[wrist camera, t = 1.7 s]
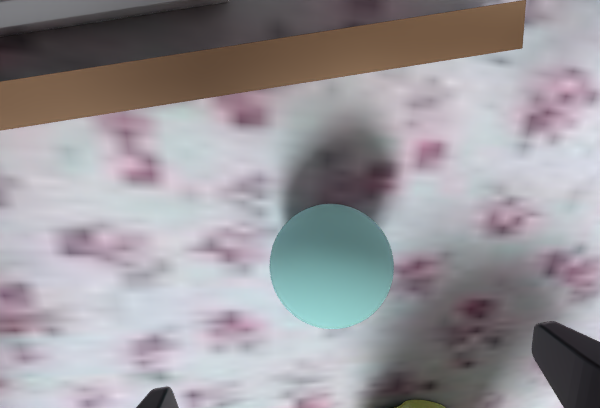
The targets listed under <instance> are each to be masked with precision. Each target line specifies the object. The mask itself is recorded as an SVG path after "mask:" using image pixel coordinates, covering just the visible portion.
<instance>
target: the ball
mask: <svg viewBox="0 0 600 408" xmlns="http://www.w3.org/2000/svg"><path fill="white" fill-rule="evenodd" d="M393 270H394V262H393V255H392V251H391V248H390V245H389V242H388V240H387V238H386V236H385V234H384V233H383V231H382V230H381V229H380V227H379V226H378V225H377V224H376V223H375V222H374V221H373V220H372V219H371V218H370V217H368V216H367V215H366V214H364V213H362V212H361V211H359V210H357V209H354V208H352V207H348V206H345V205H339V204H321V205H317V206H313V207H310V208H307V209H305V210H303V211H301V212H299V213H298V214H296V215H295V216H294V217H292V218H291V219H290V220H289V221H288V222H287V223H286V224H285V225H284V226H283V228H282V229H281V231H280V232H279V233H278V235H277V237H276V239H275V242H274V244H273V247H272V251H271V256H270V274H271V280H272V284H273V287H274V290H275V292H276V294H277V296H278V298H279V299H280V301H281V302H282V304H283V305H284V306H285V307H286V309H287V310H288V311H289V312H291V313H292V314H293V315H294V316H295V317H297V318H298V319H300V320H301V321H303V322H305V323H307V324H310V325H312V326H315V327H319V328H325V329H339V328H346V327H350V326H353V325H355V324H358V323H360V322H362V321H363V320H365V319H367V318H368V317H370V316H371V315H372V314H373V313H374V312H375V311H376V310H377V309H378V308H379V307H380V306H381V304H382V303H383V301H384V300H385V298H386V296H387V294H388V292H389V290H390V286H391V283H392V279H393Z"/></svg>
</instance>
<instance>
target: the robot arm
mask: <svg viewBox="0 0 600 408" xmlns="http://www.w3.org/2000/svg"><path fill="white" fill-rule="evenodd" d="M532 354H533V357H534V359H535V361H536V362H537V364H538V366H539V367H540V369H541V371H542V372H543V374H544V376H545V377H546V379H547V381H548V382H549V384H550V386H551V387H552V389H553V390H554V392H555V394H556V395H557V397H558V399H559V400H560V402H561V404H562V405H563V407H564V408H600V342H599V341H597V340H594V339H592V338H590V337H588V336H586V335H583V334H581V333H579V332H577V331H575V330H572V329H570V328H568V327H566V326H564V325H561V324H559V323H557V322H554V321H549V322H543V323H538V324H536V325H535V327H534V334H533V342H532ZM136 408H179V407H178V405H177V402H176V399H175V397H174V394H173V391H172V389H171V388H170V387H161V388H155V389H153V390H151V391H150V392H149V393H148V394H147V396H146V397H145V398H144V399H143V400H142V401H141V403H140V404H139V405H138V406H137V407H136Z"/></svg>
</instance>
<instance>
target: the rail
mask: <svg viewBox="0 0 600 408" xmlns="http://www.w3.org/2000/svg"><path fill="white" fill-rule="evenodd" d="M525 7H526V0H522V1H516V2H509V3H503V4H496V5H490V6H483V7H477V8H471V9H464V10H458V11H451V12H445V13H438V14H432V15H426V16H419V17H413V18H406V19H400V20H393V21H387V22H381V23H374V24H368V25H361V26H355V27H348V28H342V29H336V30H329V31H323V32H316V33H310V34H304V35H297V36H291V37H284V38H278V39H271V40H265V41H259V42H252V43H246V44H239V45H233V46H226V47H220V48H214V49H207V50H201V51H194V52H188V53H181V54H175V55H169V56H162V57H156V58H149V59H143V60H136V61H130V62H124V63H117V64H111V65H104V66H98V67H91V68H85V69H79V70H72V71H66V72H59V73H53V74H46V75H40V76H34V77H27V78H21V79H14V80H8V81H1V82H0V131H1V130H7V129H13V128H20V127H26V126H32V125H39V124H45V123H51V122H58V121H64V120H70V119H77V118H83V117H89V116H96V115H102V114H108V113H115V112H121V111H127V110H134V109H140V108H147V107H153V106H159V105H166V104H172V103H178V102H185V101H191V100H197V99H204V98H210V97H216V96H223V95H229V94H235V93H242V92H248V91H254V90H261V89H267V88H274V87H280V86H286V85H293V84H299V83H305V82H312V81H318V80H324V79H331V78H337V77H343V76H350V75H356V74H362V73H369V72H375V71H381V70H388V69H394V68H401V67H407V66H413V65H420V64H426V63H432V62H439V61H445V60H451V59H458V58H464V57H470V56H477V55H483V54H489V53H496V52H502V51H508V50H515V49H521V48H522V46H523V33H524V20H525Z"/></svg>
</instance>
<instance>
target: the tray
mask: <svg viewBox="0 0 600 408" xmlns="http://www.w3.org/2000/svg"><path fill="white" fill-rule="evenodd" d="M224 2H229V1H228V0H0V37H3V36H10V35H16V34H23V33H29V32H36V31H42V30H49V29H55V28H62V27H68V26H74V25H81V24H87V23H94V22H100V21H107V20H113V19H120V18H126V17H133V16H139V15H146V14H152V13H159V12H165V11H172V10H178V9H185V8H191V7H198V6H204V5H211V4H217V3H224Z"/></svg>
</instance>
